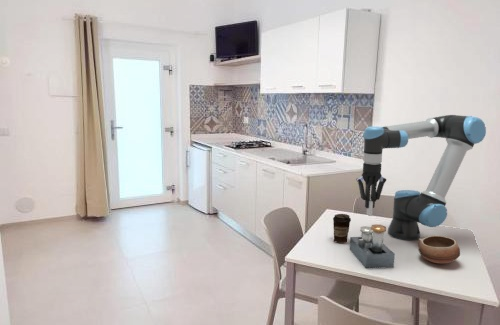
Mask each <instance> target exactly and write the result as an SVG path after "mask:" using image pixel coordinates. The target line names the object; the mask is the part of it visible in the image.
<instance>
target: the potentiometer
mask: <svg viewBox="0 0 500 325" xmlns="http://www.w3.org/2000/svg"><path fill="white" fill-rule="evenodd" d="M358 246H361V247H364V246H365V240H364V239H358Z"/></svg>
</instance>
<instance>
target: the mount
mask: <svg viewBox="0 0 500 325" xmlns="http://www.w3.org/2000/svg"><path fill="white" fill-rule="evenodd" d="M361 237H362V236H350V237H349V238H350V239H349V250H350V251H351V253H352V254H353V256H354V257H355V258H356V259H357V260H358V261H359V263H360V264H361V265H362V266H363V267H364V268H365V269H389V268H394V267H395V260H396V259H395V256H396V254H395V252H393V251H392V250H391V249H390V248H389V247H388V246H386V244H384V243H383V249H382V252H374V251H372V250H371V247H372V242H371V243H365V246H364V247H361V246H358V239H361Z"/></svg>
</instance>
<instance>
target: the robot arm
mask: <svg viewBox="0 0 500 325" xmlns="http://www.w3.org/2000/svg"><path fill="white" fill-rule="evenodd" d="M362 133H363V139H364V142H363V143H364V144H363V163H362V173H361V176H360V177H357V178H356V182H357V184H358V188H359V193H360V197H361V199H362V200H363V201H364V207H365V208H366V211H365V212H366V215H367V216H368V217H372V216H373V209H374V208H375V204H376V203H375V202H377V201H379V200H380V198H381V194H382V192H383V187H384V185H385V183H386V181H387V178H385V177H383V176H382V173H381V172H382V161H383V160H382V159H383V149H399V148H400V149H401V148H405V147H406V146H407V145H408V143H409V140H410V139H418V138H424V137H425V138H426V137H428V138H429V139H430V138H431V139H432V138H440V139H445V141H446V147H445V149H444V151H443V153H442V156H441V158H440V160H439V161H438V164H437V166H436V168H435V170H434V173H433V174H432V176H431V177H430V178H431V179H430V180H429V182H428V185H427V186H426V188H425V190H424V191H421V192H420V191H418V190H413V189H410V190H409V189H403V190H402V189H401V190H397V191H396V192H395V193H394V198H393V210H392V219H391V221H390V223H389V226H388V228H387V234H388V235H389V236H390V237H392V238H394V239H399V240H403V241H415V240H419V239H421V238H420V236H421V231H420V228H419V224H421V225H422V226H426V227H429V228H436V227H438V226H440V225H442V224H443V223H444V222H445V221H446V219H447V216H448V209H447V207H446V205H447V200H446V197H447V194H448V192H449V190H450V188H451V186H452V183H453V182H454V179H455V177H456V175H457V173H458V171H459V168H460V167H461V164H462V163H463V161H464V158H465V156H466V154H467V152H468V151H470V150H472V149H473V147H474V146H475V144H479V143H481V142H483V140H484V139H485V136H486V134H487V127H486V124H485V122H484V120H483V119H481V118H479V117H476V116H472V115H469V116H468V115H459V114H458V115H456V114H447V115H440V116H435V117H430V118H429V117H428V118H427V119H426V120H422V121H421V120H420V121H415V122H409V123H400V124H393V125H387V126H386V125H385V126H367V127H366V128H365V129H364V131H363V132H362ZM364 185H365V186H364ZM364 187H365V188H364Z"/></svg>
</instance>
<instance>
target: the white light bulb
mask: <svg viewBox="0 0 500 325" xmlns="http://www.w3.org/2000/svg"><path fill="white" fill-rule="evenodd" d="M359 231H360V232H361V236H360V237H361V239H364V240H365V243H371V242H372V235H373V230H371V226H364V225H363V226H361V227H360V230H359Z"/></svg>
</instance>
